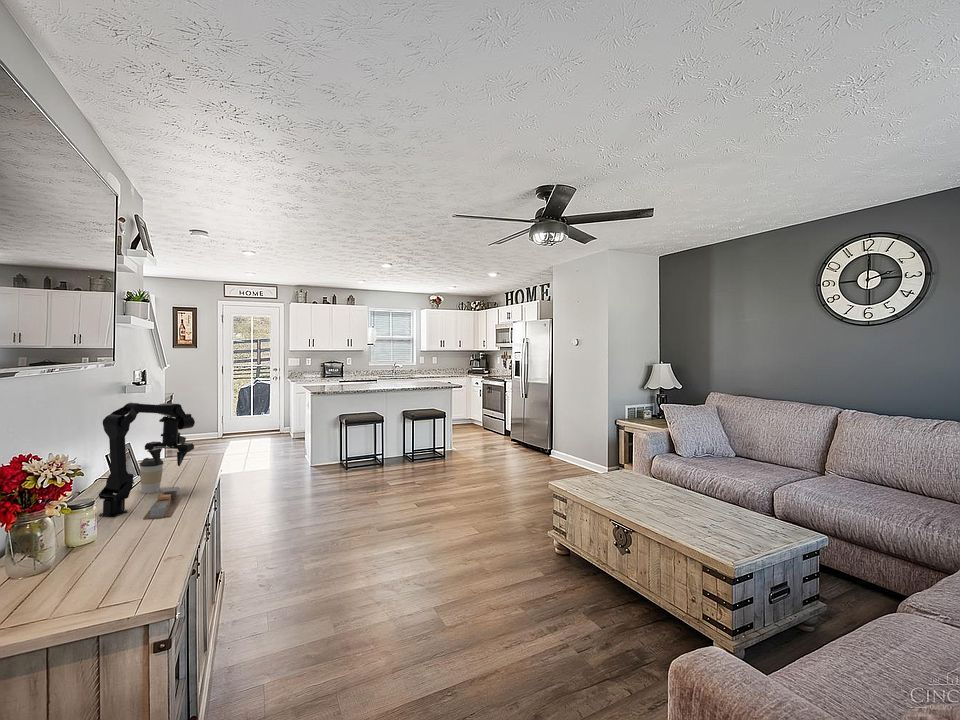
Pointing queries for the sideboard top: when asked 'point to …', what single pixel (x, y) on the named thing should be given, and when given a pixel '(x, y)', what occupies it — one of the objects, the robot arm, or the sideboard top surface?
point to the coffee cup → (150, 475)
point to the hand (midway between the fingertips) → (168, 465)
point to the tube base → (165, 504)
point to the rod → (165, 498)
